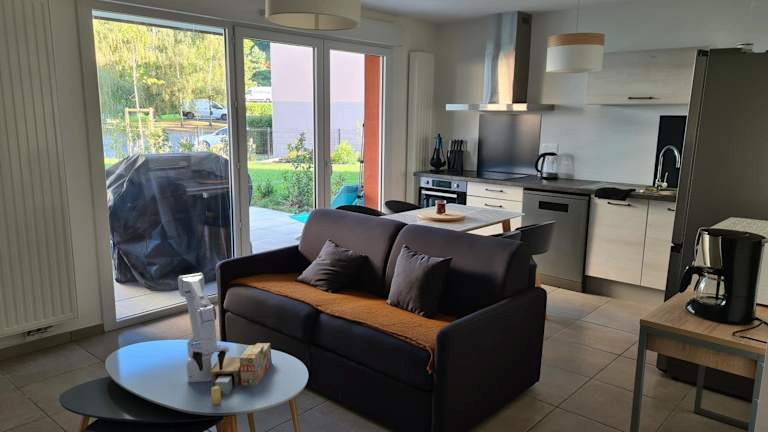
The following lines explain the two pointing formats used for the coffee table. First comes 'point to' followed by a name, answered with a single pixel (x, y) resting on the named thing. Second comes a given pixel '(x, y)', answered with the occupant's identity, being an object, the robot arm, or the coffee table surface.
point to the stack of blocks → (254, 363)
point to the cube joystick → (221, 388)
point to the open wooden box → (227, 369)
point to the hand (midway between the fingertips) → (211, 369)
